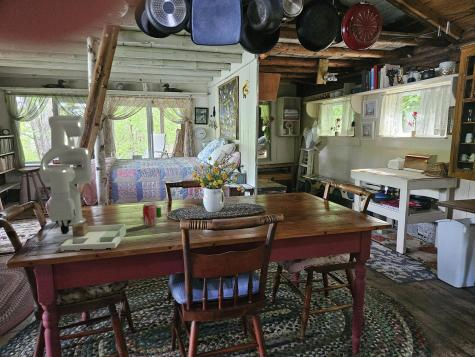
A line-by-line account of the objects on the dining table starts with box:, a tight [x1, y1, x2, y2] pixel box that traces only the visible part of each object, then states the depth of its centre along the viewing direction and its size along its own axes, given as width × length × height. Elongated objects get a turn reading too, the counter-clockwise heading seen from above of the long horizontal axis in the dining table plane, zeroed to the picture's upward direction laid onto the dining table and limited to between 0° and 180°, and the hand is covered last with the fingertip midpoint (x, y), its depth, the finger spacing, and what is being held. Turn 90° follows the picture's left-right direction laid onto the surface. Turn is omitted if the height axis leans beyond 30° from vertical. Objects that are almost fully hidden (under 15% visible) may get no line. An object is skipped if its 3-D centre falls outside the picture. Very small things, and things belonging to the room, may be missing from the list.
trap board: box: [60, 223, 127, 252], centre depth 143 cm, size 23×19×5 cm
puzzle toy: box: [155, 204, 162, 218], centre depth 183 cm, size 6×6×6 cm
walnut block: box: [71, 222, 89, 237], centre depth 145 cm, size 5×5×5 cm
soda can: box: [142, 202, 158, 227], centre depth 166 cm, size 7×7×12 cm
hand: (65, 233), depth 145 cm, fingers closed
